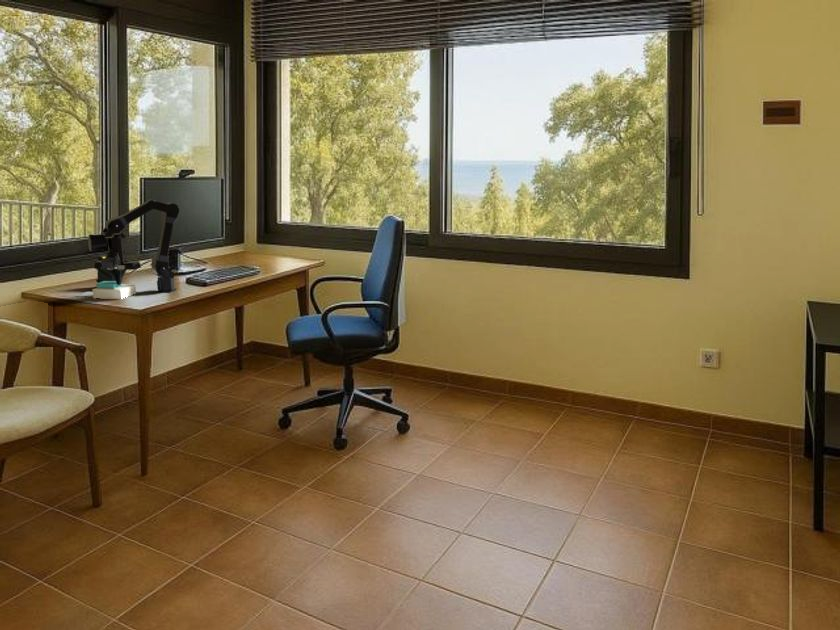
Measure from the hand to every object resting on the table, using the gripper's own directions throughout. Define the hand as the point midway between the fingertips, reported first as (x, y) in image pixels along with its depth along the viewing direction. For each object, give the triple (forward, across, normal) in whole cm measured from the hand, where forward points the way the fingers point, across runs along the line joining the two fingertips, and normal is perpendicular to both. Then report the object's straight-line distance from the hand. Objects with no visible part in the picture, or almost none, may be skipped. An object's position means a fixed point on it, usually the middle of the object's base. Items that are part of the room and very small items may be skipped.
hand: (119, 284), depth 321 cm
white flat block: (+5, -3, +1) cm, 6 cm away
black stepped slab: (+5, -15, +16) cm, 23 cm away
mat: (+5, -15, +2) cm, 16 cm away
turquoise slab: (+1, -5, 0) cm, 5 cm away
